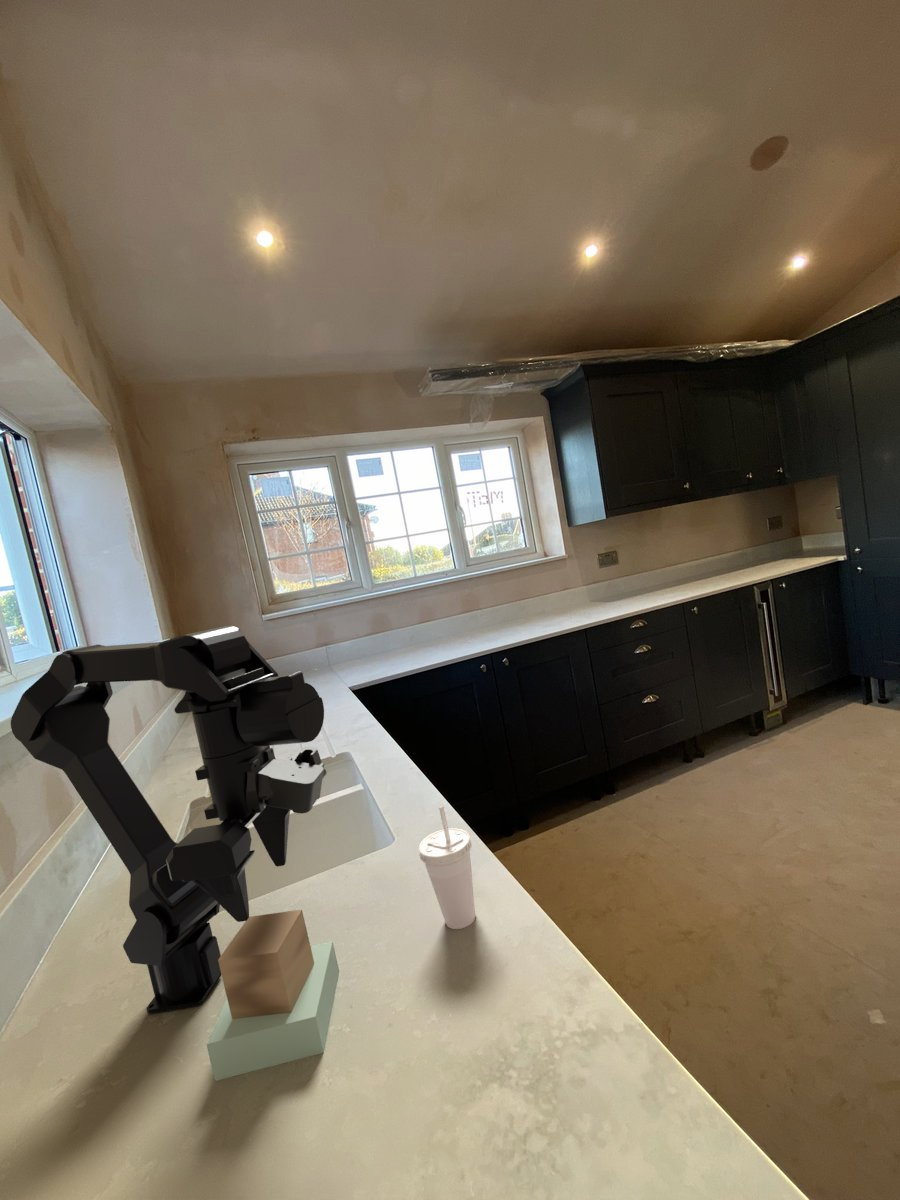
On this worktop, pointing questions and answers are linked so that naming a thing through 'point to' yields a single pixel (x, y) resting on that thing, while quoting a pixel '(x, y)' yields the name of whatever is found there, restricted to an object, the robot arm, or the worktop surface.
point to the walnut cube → (266, 964)
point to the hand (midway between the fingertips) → (263, 890)
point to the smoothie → (450, 873)
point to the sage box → (278, 1025)
